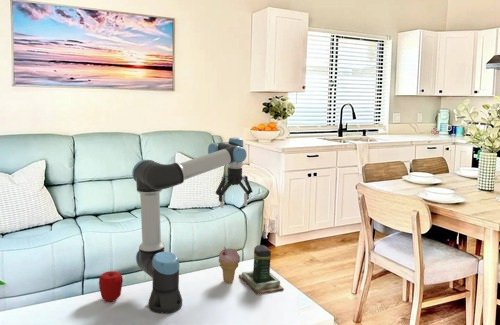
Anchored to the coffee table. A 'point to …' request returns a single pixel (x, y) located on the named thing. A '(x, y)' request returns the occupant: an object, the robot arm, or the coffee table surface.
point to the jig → (261, 284)
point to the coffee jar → (261, 264)
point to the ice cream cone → (229, 263)
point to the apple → (110, 285)
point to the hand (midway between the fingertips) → (233, 206)
